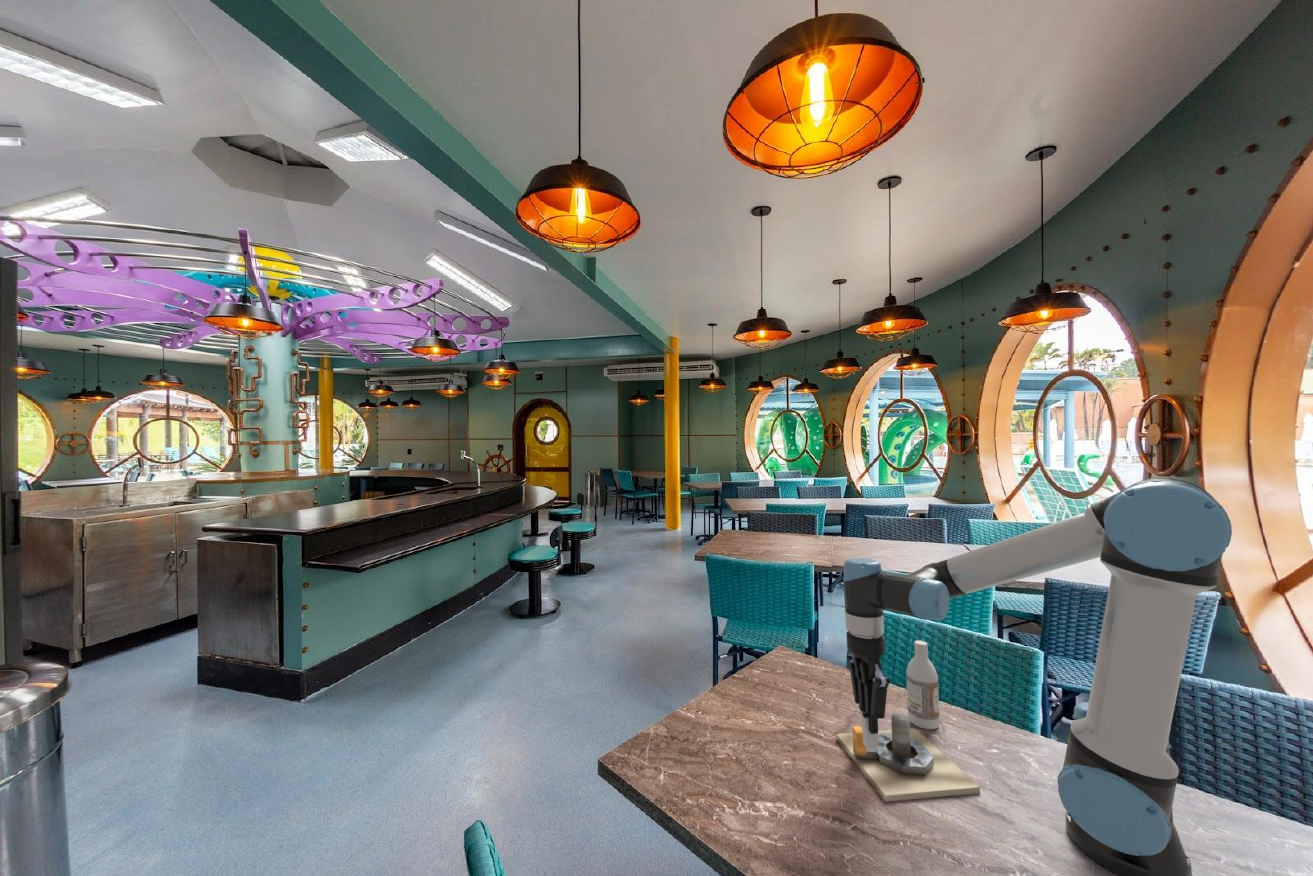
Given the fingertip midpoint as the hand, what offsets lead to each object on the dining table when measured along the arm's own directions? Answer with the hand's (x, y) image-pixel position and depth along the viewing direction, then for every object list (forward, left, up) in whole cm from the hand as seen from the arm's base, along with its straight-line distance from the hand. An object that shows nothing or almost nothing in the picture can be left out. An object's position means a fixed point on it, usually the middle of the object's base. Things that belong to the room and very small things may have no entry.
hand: (870, 745), depth 98 cm
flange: (+3, -7, -5) cm, 9 cm away
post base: (+3, -9, -7) cm, 11 cm away
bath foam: (+17, -24, -7) cm, 30 cm away
